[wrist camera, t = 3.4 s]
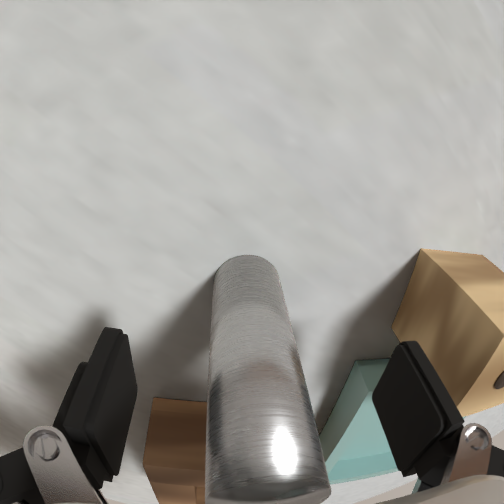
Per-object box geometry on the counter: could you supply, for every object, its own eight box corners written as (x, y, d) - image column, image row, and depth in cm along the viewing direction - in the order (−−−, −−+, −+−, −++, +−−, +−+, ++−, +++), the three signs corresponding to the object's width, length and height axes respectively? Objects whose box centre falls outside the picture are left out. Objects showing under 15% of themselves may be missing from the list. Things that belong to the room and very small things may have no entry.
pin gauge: (215, 252, 14) (204, 482, 5) (284, 257, 14) (349, 475, 5) (212, 308, 15) (205, 517, 6) (274, 311, 16) (312, 513, 7)
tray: (355, 360, 18) (368, 391, 15) (486, 346, 19) (502, 367, 17) (303, 464, 24) (307, 487, 22) (413, 445, 25) (421, 464, 23)
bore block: (153, 397, 18) (142, 464, 14) (308, 402, 19) (324, 467, 15) (166, 462, 23) (162, 511, 18) (281, 465, 24) (288, 513, 19)
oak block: (420, 248, 15) (505, 337, 8) (482, 254, 15) (559, 326, 9) (391, 327, 17) (445, 424, 10) (452, 324, 17) (508, 402, 11)
